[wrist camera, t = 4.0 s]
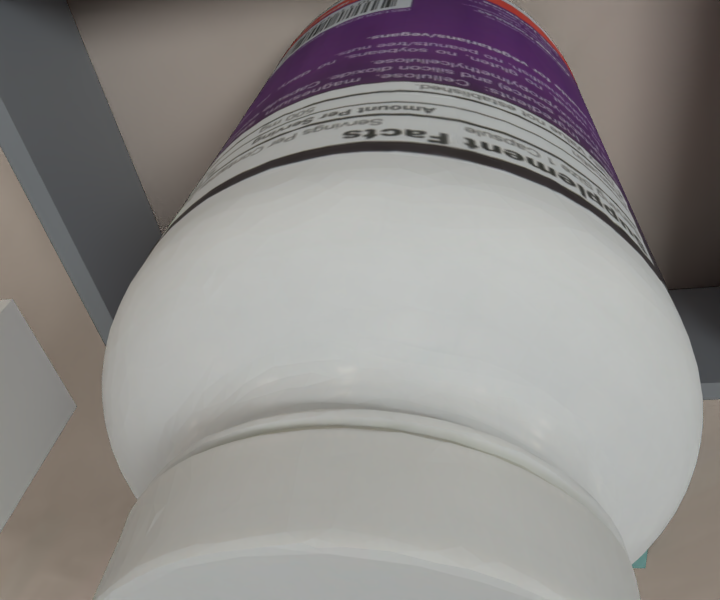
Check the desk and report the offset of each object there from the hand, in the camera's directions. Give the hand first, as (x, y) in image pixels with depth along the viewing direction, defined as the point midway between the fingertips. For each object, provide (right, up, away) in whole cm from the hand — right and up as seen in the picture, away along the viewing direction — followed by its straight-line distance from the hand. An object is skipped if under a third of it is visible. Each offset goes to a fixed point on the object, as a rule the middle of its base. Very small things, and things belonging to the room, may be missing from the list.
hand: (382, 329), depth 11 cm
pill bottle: (+1, +5, +7) cm, 9 cm away
